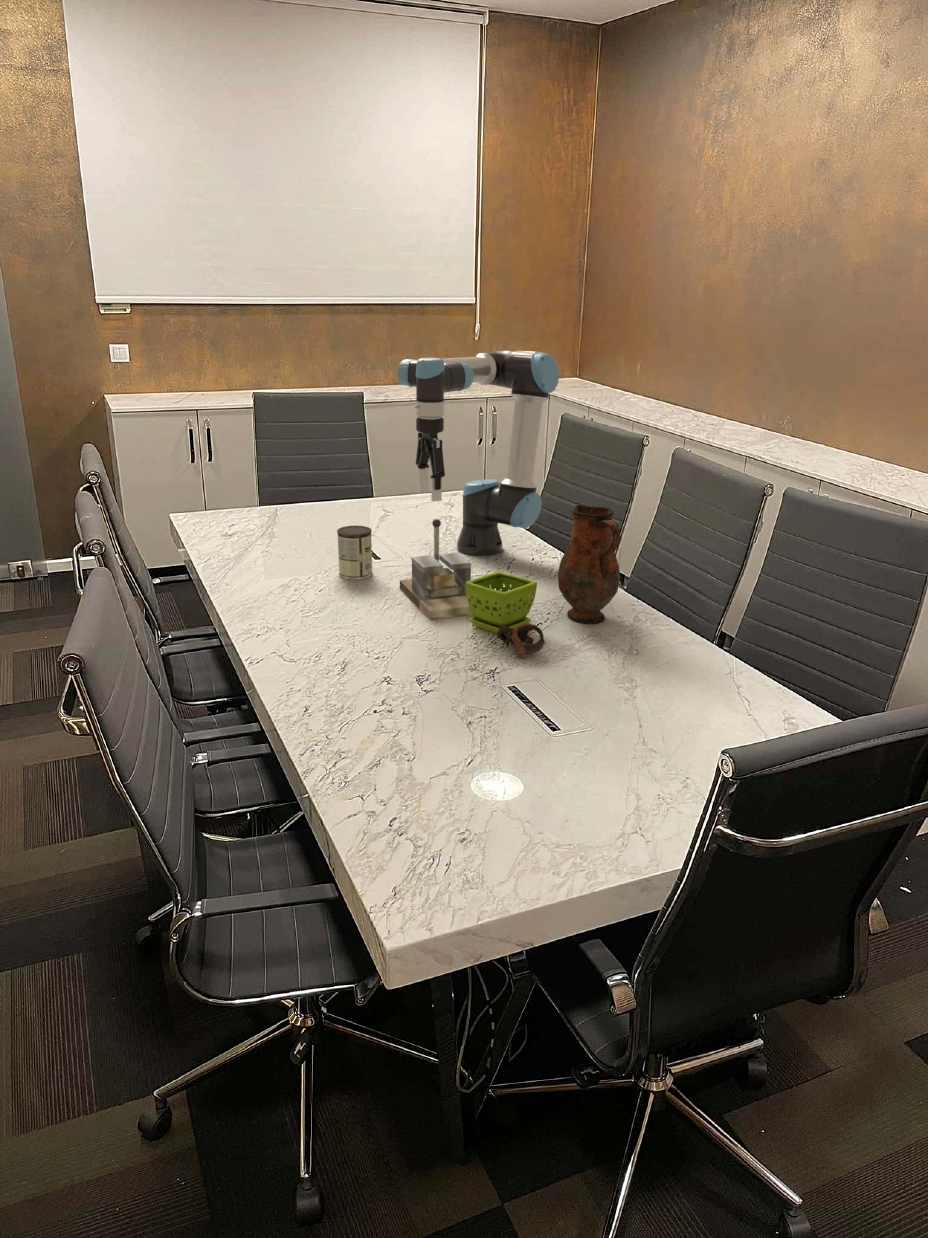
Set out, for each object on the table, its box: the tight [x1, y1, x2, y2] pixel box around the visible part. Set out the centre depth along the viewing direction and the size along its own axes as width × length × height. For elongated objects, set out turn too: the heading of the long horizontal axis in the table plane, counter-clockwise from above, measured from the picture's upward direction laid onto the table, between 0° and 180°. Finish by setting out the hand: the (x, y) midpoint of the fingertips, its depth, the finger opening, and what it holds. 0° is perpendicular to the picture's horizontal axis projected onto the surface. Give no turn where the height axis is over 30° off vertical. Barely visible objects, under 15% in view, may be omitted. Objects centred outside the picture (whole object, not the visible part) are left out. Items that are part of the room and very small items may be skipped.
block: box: [428, 567, 455, 589], centre depth 260 cm, size 6×6×6 cm
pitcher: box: [557, 504, 621, 625], centre depth 245 cm, size 17×21×30 cm
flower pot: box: [465, 571, 538, 634], centre depth 242 cm, size 14×14×13 cm
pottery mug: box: [496, 623, 546, 660], centre depth 228 cm, size 12×10×8 cm
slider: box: [428, 518, 462, 598], centre depth 258 cm, size 9×10×20 cm
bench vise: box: [399, 552, 474, 621], centre depth 260 cm, size 16×27×12 cm, turn 21°
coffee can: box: [336, 525, 373, 581], centre depth 280 cm, size 10×10×14 cm
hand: (429, 495), depth 261 cm, fingers open, 11 cm apart
